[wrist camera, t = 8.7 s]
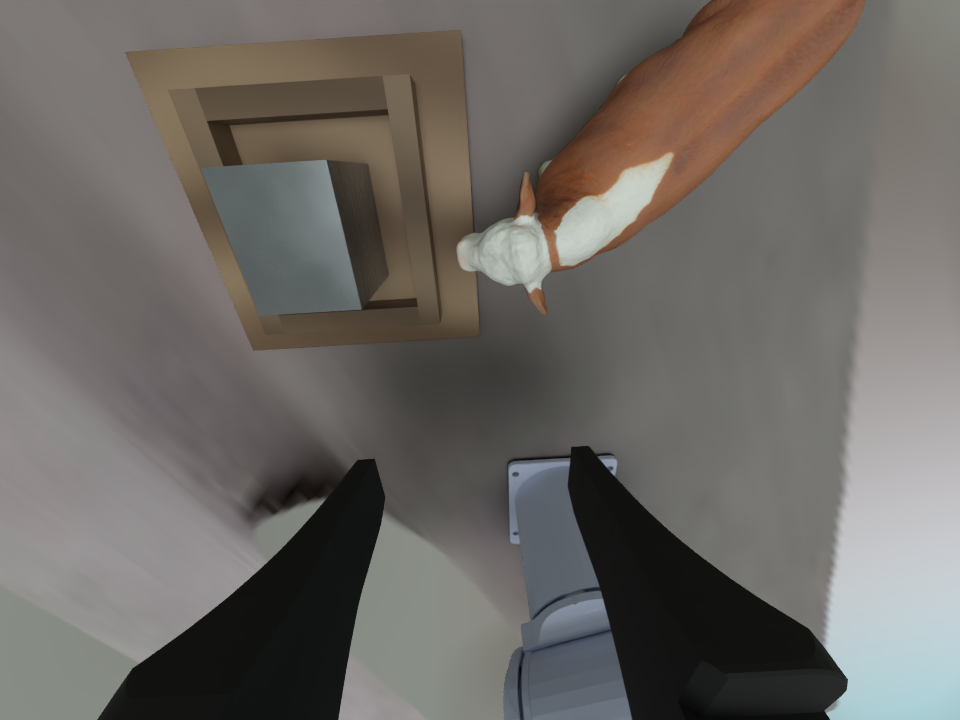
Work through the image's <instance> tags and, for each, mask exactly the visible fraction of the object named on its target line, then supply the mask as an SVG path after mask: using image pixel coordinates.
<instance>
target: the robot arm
mask: <svg viewBox="0 0 960 720" xmlns="http://www.w3.org/2000/svg"><path fill="white" fill-rule="evenodd" d="M609 466H610V467H609ZM616 468H617V460H616V458H615V457H614V456H611V455H609V456H597V455H596V454H595V453H594V452H593V450H592V449H591V448H590V447H589V446H581V447H571V456H570V458H559V459H542V460H526V461H513V462H511V463H510V464H509V465H508V480H509V527H510V542H511V543H513V544H520V547H521V554H522V561H523V569H524V576H525V584H526V591H527V598H528V606H529V613H530V621H529V622H527V623H524V624H522V625H521V633H522V642H523V646H522V647H519V648H517V649H516V650H515V651H514V652H513V654H512V656H511V659H510V662H509V667H508V670H507V673H506V677H505V682H504V696H503V698H504V699H503V706H504V720H830V719H829V717H828V716H827V714H826V713H825V711H824V710H825V709H826V708H828V707H829V706H830V705H831V704H832V703H834V702H835V701H836V700H837V699H838V698H839V697H841V696H842V695H843V693H844V692H845V691H846V690H847V683H848V679H847V678H846V676H845V675H844V674H843V672H842V671H841V670H840V668H839V667H838V666H837V664H836V663H835V662H834V660H833V659H832V657H831V656H830V655H829V653H828V652H827V650H826V649H825V648H824V647H823V645H822V644H821V643H820V642H819V640H818V639H817V638H816V637H815V636H814V634H813V633H812V632H811V631H810V630H809V629H808V628H807V627H805V626H803V625H802V624H800V623H799V622H797V621H795V620H794V619H792V618H790V617H789V616H787V615H786V614H784V613H782V612H781V611H779V610H777V609H776V608H774V607H773V606H771V605H769V604H768V603H766V602H765V601H763V600H761V599H760V598H758V597H757V596H755V595H754V594H752V593H751V592H749V591H748V590H746V589H745V588H743V587H742V586H741V585H739V584H738V583H736V582H735V581H733V580H732V579H730V578H729V577H728V576H726V575H725V574H723V573H722V572H721V571H719V570H718V569H717V568H715V567H714V566H713V565H711V564H710V563H709V562H707V561H706V560H705V559H703V558H702V557H701V556H699V555H698V554H697V553H695V552H694V551H693V550H692V549H690V548H689V547H688V546H687V545H686V544H684V543H683V542H682V541H681V540H679V539H678V538H677V537H676V536H675V535H674V534H672V533H671V532H670V531H669V530H668V529H667V528H666V527H664V526H663V525H662V524H661V523H660V522H659V521H658V520H657V519H656V518H655V517H654V516H653V515H651V514H650V513H649V512H648V511H647V510H646V509H645V508H644V507H643V506H642V505H641V504H640V503H639V502H638V501H637V500H636V499H635V498H634V497H633V496H632V495H631V494H630V492H629V491H628V490H627V489H626V488H625V487H624V486H623V485H622V484H621V483H620V482H619V481H618V480H617V479H616V477H615V473H616ZM514 472H517V473H514ZM384 502H385V494H384V491H383V487H382V484H381V480H380V477H379V473H378V469H377V466H376V462H375V459H365V460H357V461H356V463H355V464H354V465H353V466H352V468H351V469H350V470H349V471H348V473H347V474H346V475H345V476H344V478H343V479H342V480H341V482H340V483H339V484H338V485H337V487H336V488H335V489H334V490H333V492H332V493H331V494H330V495H329V496H328V498H327V499H326V500H325V501H324V502H323V504H322V505H321V506H320V507H319V508H318V510H317V511H316V512H315V514H313V515H312V517H311V518H310V519H309V520H308V521H307V522H306V523H305V524H304V525H303V527H302V528H301V529H300V530H299V531H298V532H297V533H296V534H295V535H294V536H293V537H292V538H291V540H290V541H289V542H288V543H287V544H286V545H285V546H284V547H283V548H282V549H281V550H280V551H279V552H278V553H277V554H276V555H275V556H274V557H273V558H272V559H270V560H269V561H268V562H267V563H266V564H265V565H264V566H263V567H262V568H261V569H260V570H259V571H258V572H256V573H255V574H254V575H253V576H252V577H251V578H250V579H249V580H247V581H246V582H245V583H244V584H243V585H242V586H241V587H239V588H238V589H237V590H236V591H235V592H234V593H233V594H231V595H230V596H229V597H228V598H227V599H225V600H224V601H223V602H222V603H220V604H219V605H218V606H217V607H216V608H214V609H213V610H212V611H211V612H209V613H208V614H207V615H205V616H204V617H203V618H202V619H200V620H199V621H198V622H196V623H195V624H194V625H193V626H191V627H190V628H189V629H187V630H186V631H185V632H183V633H182V634H181V635H179V636H178V637H176V638H175V639H174V640H172V641H171V642H169V643H168V644H167V645H165V646H164V647H162V648H161V649H160V650H158V651H157V652H155V653H154V654H153V655H151V656H150V657H148V658H147V659H146V660H144V661H143V662H141V663H140V664H138V665H137V666H136V667H134V668H133V669H132V670H131V671H130V673H129V674H128V676H127V677H126V679H125V680H124V681H123V683H122V684H121V686H120V687H119V689H118V690H117V691H116V693H115V694H114V696H113V697H112V699H111V700H110V702H109V703H108V705H107V706H106V708H105V709H104V711H103V712H102V714H101V715H100V716H99V718H98V719H97V720H338V718H339V711H340V705H341V699H342V692H343V686H344V680H345V674H346V668H347V662H348V657H349V651H350V645H351V640H352V635H353V629H354V625H355V619H356V614H357V609H358V605H359V600H360V597H361V593H362V589H363V585H364V582H365V578H366V575H367V572H368V568H369V565H370V561H371V557H372V554H373V551H374V547H375V544H376V540H377V537H378V533H379V530H380V526H381V521H382V515H383V509H384Z"/></svg>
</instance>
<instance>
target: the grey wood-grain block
mask: <svg viewBox="0 0 960 720" xmlns="http://www.w3.org/2000/svg"><path fill="white" fill-rule="evenodd" d="M201 171H202V173H203V176H204V178H205V181H206V183H207V186H208V188H209V191H210V194H211V196H212V199H213V201H214V204H215V206H216V209H217V211H218V214H219V216H220V219H221V221H222V224H223V226H224V229H225V231H226V234H227V236H228V239H229V241H230V244H231V246H232V249H233V251H234V254H235V256H236V259H237V261H238V264H239V267H240V269H241V272H242V274H243V277H244V279H245V282H246V284H247V287H248V289H249V292H250V294H251V297H252V299H253V302H254V304H255V307H256V309H257V312H258V314H259V316H265V315H281V314H297V313H314V312H330V311H346V310H362V309H363V307H364V306H365V305H366V304H367V302H368V301H369V300H370V299H371V297H372V296H373V295H374V294H375V292H376V291H377V290H378V289H379V287H380V286H381V285H382V284H383V282H384V281H385V280H386V278H387V277H388V276H389V273H388V268H387V262H386V257H385V251H384V246H383V241H382V235H381V230H380V225H379V219H378V214H377V209H376V203H375V198H374V193H373V187H372V182H371V176H370V171H369V166H368V164H366V163H355V162H345V161H334V160H315V161H299V162H284V163H268V164H252V165H236V166H221V167H205V168H201Z"/></svg>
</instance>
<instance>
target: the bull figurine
mask: <svg viewBox="0 0 960 720" xmlns="http://www.w3.org/2000/svg"><path fill="white" fill-rule="evenodd" d="M864 3H865V0H711V1H710V2H709V3H708V4H707V5H705V6H704V7H703V8H702V9H701V10H700V11H699V12H698V13H697V15H696V16H695V17H694V18H693V20H692V21H691V22H690V24H689V25H688V27H687V28H686V30H685V32H684V34H683V36H682V38H680V39H679V40H677V41H675V42H674V43H673V44H672V45H670V46H668V47H666V48H664V49H662V50H660V51H658V52H657V53H655V54H653V55H652V56H650V57H649V58H647V59H646V60H644V61H643V62H642V63H640V64H639V65H638V66H636V67H635V68H634V69H633V70H631V71H630V72H629V73H628V74H626V75H624V76H622V77H621V78H620V79H619V80H618V82H617V84H616V86H615V88H614V90H613V91H612V92H611V94H610V95H609V96H608V98H607V99H606V100H605V102H604V103H603V104H602V106H601V107H600V109H599V111H598V112H597V113H596V114H595V115H594V116H593V117H592V118H591V119H590V120H589V121H588V123H587V124H586V125H585V126H584V127H583V128H582V129H581V130H580V131H579V133H578V134H577V135H576V136H575V137H574V139H573V140H572V141H571V142H570V143H569V144H568V145H567V146H565V147H564V148H563V149H562V150H561V151H560V152H559V153H558V154H557V155H556V157H555V158H554V159H553V160H549V161H546V162H544V163H542V164H541V165H540V167H539V170H538V176H539V181H538V184H537V188H536V199H535V196H534V192H533V189H532V186H531V182H530V173H529V172H528V171H524V173H523V176H522V181H521V186H520V193H519V203H518V206H517V210H516V216H515V218H507V219H503V220H500V221H498V222H497V223H495V224H493V225H491V226H490V227H488V228H487V229H486V230H485V231H484V232H482V233H473V234H469V235H467V236H465V237H463V238H462V239H461V241H460V242H459V243H458V244H457V248H456V249H457V257H458V262H459V265H460V267H461V268H462V269H463V270H465V271H468V272H473V271H482V272H483V273H484V274H486V275H487V276H488V277H490V278H491V279H492V280H494V281H496V282H499V283H502V284H504V285H507V286H511V285H515V284H521V283H522V284H524V286H525V289H526V292H527V295H528V298H529V299H530V301H531V302H532V303H533V304H534V306H535V307H536V308H537V309H538V310H539V311H540V312H541V313H542V314H543V315H546V314H547V308H546V306H545V298H544V292H543V289H542V287H541V282H542V280H543V278H544V277H545V276H546V275H547V274H548V273H550V272H556V271H561V270H566V269H572V268H575V267H577V266H579V265H582V264H583V263H585V262H587V261H588V260H590V259H591V258H592V257H594V256H596V255H598V254H601V253H603V252H606V251H609V250H612V249H614V248H616V247H618V246H620V245H622V244H623V243H625V242H626V241H628V240H629V239H630V238H632V237H633V236H634V235H636V234H637V233H638V232H639V231H641V230H642V229H643V228H644V227H645V226H646V225H647V224H649V223H650V222H652V221H654V220H655V219H657V218H659V217H660V216H662V215H663V214H665V213H666V212H667V211H668V210H670V209H671V208H672V207H674V206H675V205H676V204H677V203H678V202H680V201H681V200H682V199H683V198H684V197H686V196H687V195H688V194H689V193H690V192H692V191H693V190H694V189H695V188H696V187H698V186H699V185H700V184H701V183H702V182H703V181H705V180H706V179H707V178H708V177H709V176H710V175H711V174H712V173H713V172H714V171H715V170H716V169H717V168H718V167H719V166H720V165H721V164H722V163H723V162H724V161H725V160H726V159H727V158H728V157H729V156H730V155H731V154H732V153H733V152H734V151H735V150H736V149H737V147H738V146H739V145H740V144H741V143H742V142H743V141H744V140H745V139H746V138H747V137H748V136H749V135H750V134H751V133H752V132H753V131H754V130H755V129H756V128H757V127H758V126H759V125H760V124H761V123H762V122H764V121H765V120H766V119H768V118H769V117H770V116H771V115H772V114H774V113H775V112H776V111H777V110H778V109H780V108H781V107H782V106H783V105H784V104H786V103H787V102H788V101H789V100H790V99H791V98H792V97H793V96H795V95H796V94H797V93H798V92H799V91H800V90H801V89H802V88H803V87H804V86H805V85H806V84H808V83H809V82H810V81H811V80H812V78H813V77H814V76H815V75H816V74H817V73H818V72H819V71H820V70H821V69H822V68H823V67H824V66H825V65H826V64H827V63H828V62H829V61H830V59H831V58H832V57H833V56H834V55H835V53H836V52H837V51H838V50H839V48H840V47H841V46H842V45H843V43H844V42H845V41H846V39H847V38H848V37H849V36H850V34H851V32H852V31H853V29H854V28H855V26H856V24H857V22H858V20H859V18H860V16H861V13H862V10H863V7H864ZM536 202H537V209H536V211H535V206H536ZM534 211H535V212H534Z"/></svg>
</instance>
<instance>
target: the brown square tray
mask: <svg viewBox="0 0 960 720" xmlns="http://www.w3.org/2000/svg"><path fill="white" fill-rule="evenodd" d="M125 53H126V55H127V58H128V60H129V62H130V65H131V67H132V69H133V72H134V74H135V76H136V79H137V81H138V83H139V86H140V88H141V90H142V93H143V95H144V97H145V100H146V102H147V104H148V107H149V109H150V111H151V114H152V116H153V118H154V121H155V123H156V125H157V128H158V130H159V132H160V135H161V137H162V139H163V142H164V144H165V146H166V149H167V151H168V153H169V155H170V158H171V160H172V162H173V165H174V167H175V169H176V172H177V174H178V176H179V179H180V181H181V183H182V186H183V188H184V190H185V193H186V195H187V197H188V200H189V202H190V204H191V207H192V209H193V211H194V214H195V216H196V218H197V221H198V223H199V225H200V228H201V230H202V232H203V235H204V237H205V239H206V242H207V244H208V246H209V249H210V251H211V253H212V256H213V258H214V260H215V263H216V265H217V267H218V269H219V272H220V274H221V276H222V279H223V281H224V283H225V286H226V288H227V290H228V293H229V295H230V297H231V300H232V302H233V304H234V307H235V309H236V311H237V314H238V316H239V318H240V321H241V323H242V325H243V328H244V330H245V332H246V335H247V337H248V339H249V342H250V344H251V346H252V349H253V351H255V350H271V349H287V348H303V347H319V346H336V345H352V344H368V343H384V342H400V341H417V340H433V339H449V338H465V337H480V329H479V313H478V297H477V280H476V271H473V272H468V271H465V270H463V269H462V268H461V267H460V265H459V262H458V257H457V249H456V248H457V244H458V243H459V242H460V241H461V239H462V238H463V237H465V236H467V235H469V234H473V233H474V232H473V215H472V199H471V183H470V167H469V151H468V134H467V118H466V102H465V86H464V70H463V53H462V37H461V30H452V31H437V32H422V33H407V34H392V35H376V36H361V37H346V38H331V39H316V40H301V41H285V42H270V43H255V44H240V45H225V46H209V47H194V48H179V49H164V50H149V51H134V52H125ZM315 160H334V161H345V162H355V163H366V164H368V166H369V171H370V176H371V182H372V187H373V193H374V198H375V203H376V209H377V214H378V219H379V225H380V230H381V235H382V241H383V246H384V251H385V257H386V262H387V268H388V273H389V276H388V277H387V278H386V280H385V281H384V282H383V284H382V285H381V286H380V287H379V289H378V290H377V291H376V292H375V294H374V295H373V296H372V297H371V299H370V300H369V301H368V302H367V304H366V305H365V306H364V307H363V309H362V310H346V311H330V312H314V313H297V314H281V315H265V316H259V314H258V312H257V309H256V307H255V304H254V302H253V299H252V297H251V294H250V292H249V289H248V287H247V284H246V282H245V279H244V277H243V274H242V272H241V269H240V267H239V264H238V261H237V259H236V256H235V254H234V251H233V249H232V246H231V244H230V241H229V239H228V236H227V234H226V231H225V229H224V226H223V224H222V221H221V219H220V216H219V214H218V211H217V209H216V206H215V204H214V201H213V199H212V196H211V194H210V191H209V188H208V186H207V183H206V181H205V178H204V176H203V173H202V171H201V168H205V167H221V166H236V165H252V164H268V163H284V162H299V161H315Z"/></svg>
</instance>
